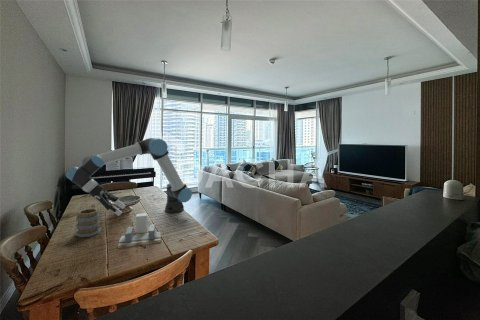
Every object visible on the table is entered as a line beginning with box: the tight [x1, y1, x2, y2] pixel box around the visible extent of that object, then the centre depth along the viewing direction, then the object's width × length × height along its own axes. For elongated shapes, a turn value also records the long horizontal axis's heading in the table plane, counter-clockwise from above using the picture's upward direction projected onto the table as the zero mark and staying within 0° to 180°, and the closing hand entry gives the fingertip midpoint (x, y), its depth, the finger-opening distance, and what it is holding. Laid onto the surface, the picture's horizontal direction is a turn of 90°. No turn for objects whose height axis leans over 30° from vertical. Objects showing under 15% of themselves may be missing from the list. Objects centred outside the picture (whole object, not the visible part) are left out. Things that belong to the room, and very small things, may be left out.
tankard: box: [75, 203, 103, 238], centre depth 141 cm, size 20×13×15 cm, turn 17°
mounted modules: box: [124, 223, 156, 243], centre depth 129 cm, size 15×10×5 cm, turn 109°
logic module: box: [135, 212, 148, 234], centre depth 141 cm, size 6×5×11 cm
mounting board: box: [117, 231, 162, 249], centre depth 129 cm, size 22×12×2 cm, turn 109°
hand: (122, 210), depth 137 cm, fingers open, 13 cm apart
